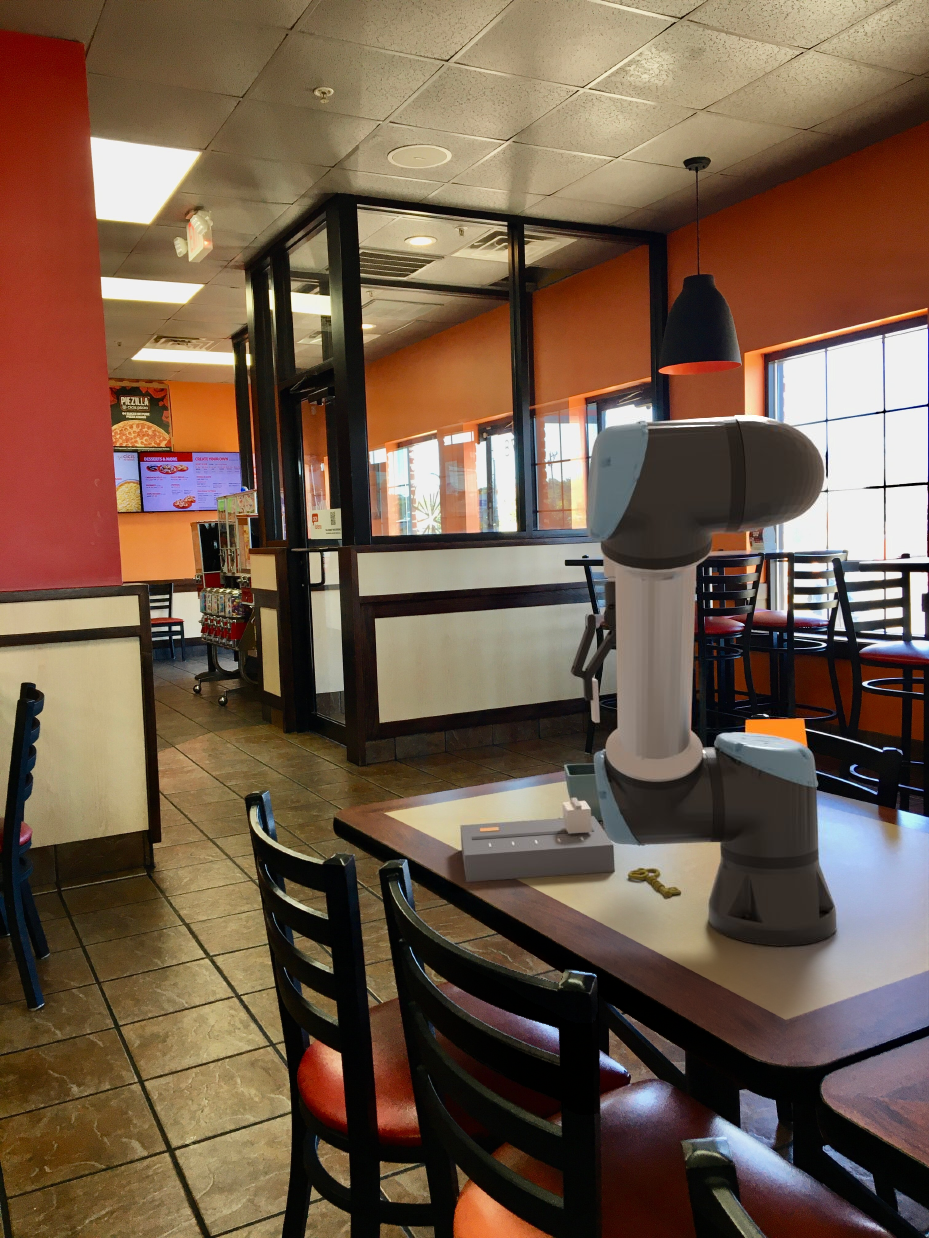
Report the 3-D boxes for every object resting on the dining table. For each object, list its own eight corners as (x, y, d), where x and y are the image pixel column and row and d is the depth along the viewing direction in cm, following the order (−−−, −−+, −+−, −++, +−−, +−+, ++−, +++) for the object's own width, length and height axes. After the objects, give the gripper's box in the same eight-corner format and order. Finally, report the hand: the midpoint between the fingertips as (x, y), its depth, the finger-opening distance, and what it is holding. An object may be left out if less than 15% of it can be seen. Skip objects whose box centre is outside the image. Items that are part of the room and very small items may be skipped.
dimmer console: (614, 871, 141) (613, 844, 141) (466, 881, 140) (464, 854, 140) (595, 839, 157) (593, 815, 157) (461, 849, 156) (460, 824, 156)
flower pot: (621, 823, 166) (618, 772, 165) (570, 826, 166) (567, 775, 165) (614, 810, 175) (612, 761, 174) (566, 812, 175) (563, 764, 174)
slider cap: (591, 831, 146) (590, 804, 146) (568, 833, 146) (567, 806, 146) (586, 823, 151) (584, 796, 151) (563, 824, 151) (562, 798, 151)
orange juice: (813, 854, 144) (808, 723, 142) (752, 854, 145) (747, 724, 144) (805, 839, 151) (801, 714, 150) (747, 839, 153) (742, 715, 152)
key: (683, 888, 130) (648, 892, 129) (684, 898, 130) (649, 902, 129) (653, 863, 142) (621, 867, 141) (654, 872, 142) (621, 876, 141)
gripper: (698, 574, 151) (704, 710, 153) (547, 582, 150) (555, 719, 151) (713, 574, 144) (719, 717, 145) (554, 583, 143) (562, 727, 144)
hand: (635, 718), depth 148 cm, fingers open, 12 cm apart
